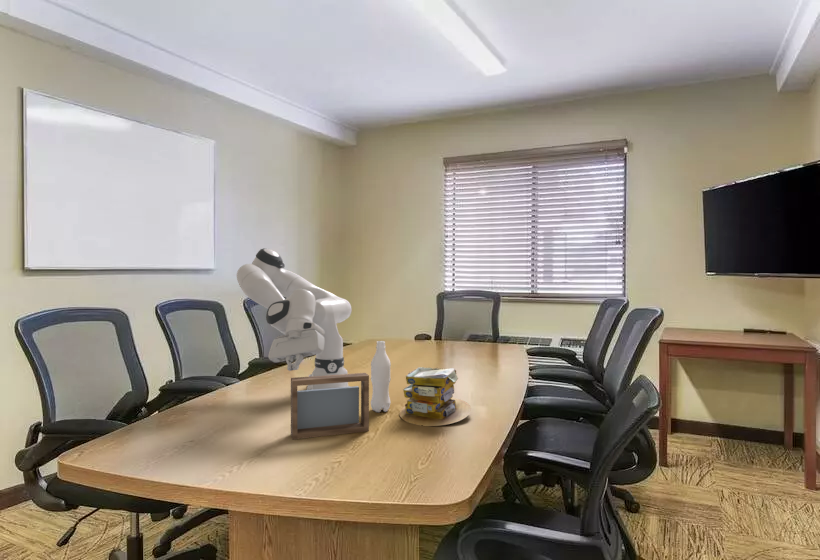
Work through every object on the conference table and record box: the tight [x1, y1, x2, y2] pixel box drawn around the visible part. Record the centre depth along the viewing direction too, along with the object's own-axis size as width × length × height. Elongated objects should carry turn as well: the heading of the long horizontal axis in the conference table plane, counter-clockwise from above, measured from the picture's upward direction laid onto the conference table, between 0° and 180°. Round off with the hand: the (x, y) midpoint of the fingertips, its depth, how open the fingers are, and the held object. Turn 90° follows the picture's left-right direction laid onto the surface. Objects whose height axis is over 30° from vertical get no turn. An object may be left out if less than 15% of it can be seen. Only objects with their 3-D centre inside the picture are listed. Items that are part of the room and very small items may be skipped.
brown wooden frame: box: [290, 372, 370, 440], centre depth 156 cm, size 4×24×18 cm, turn 110°
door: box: [297, 385, 360, 429], centre depth 159 cm, size 2×20×12 cm, turn 110°
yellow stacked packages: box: [399, 366, 472, 427], centre depth 176 cm, size 25×25×17 cm
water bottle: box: [370, 340, 391, 413], centre depth 181 cm, size 7×7×25 cm
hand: (292, 369), depth 163 cm, fingers closed
